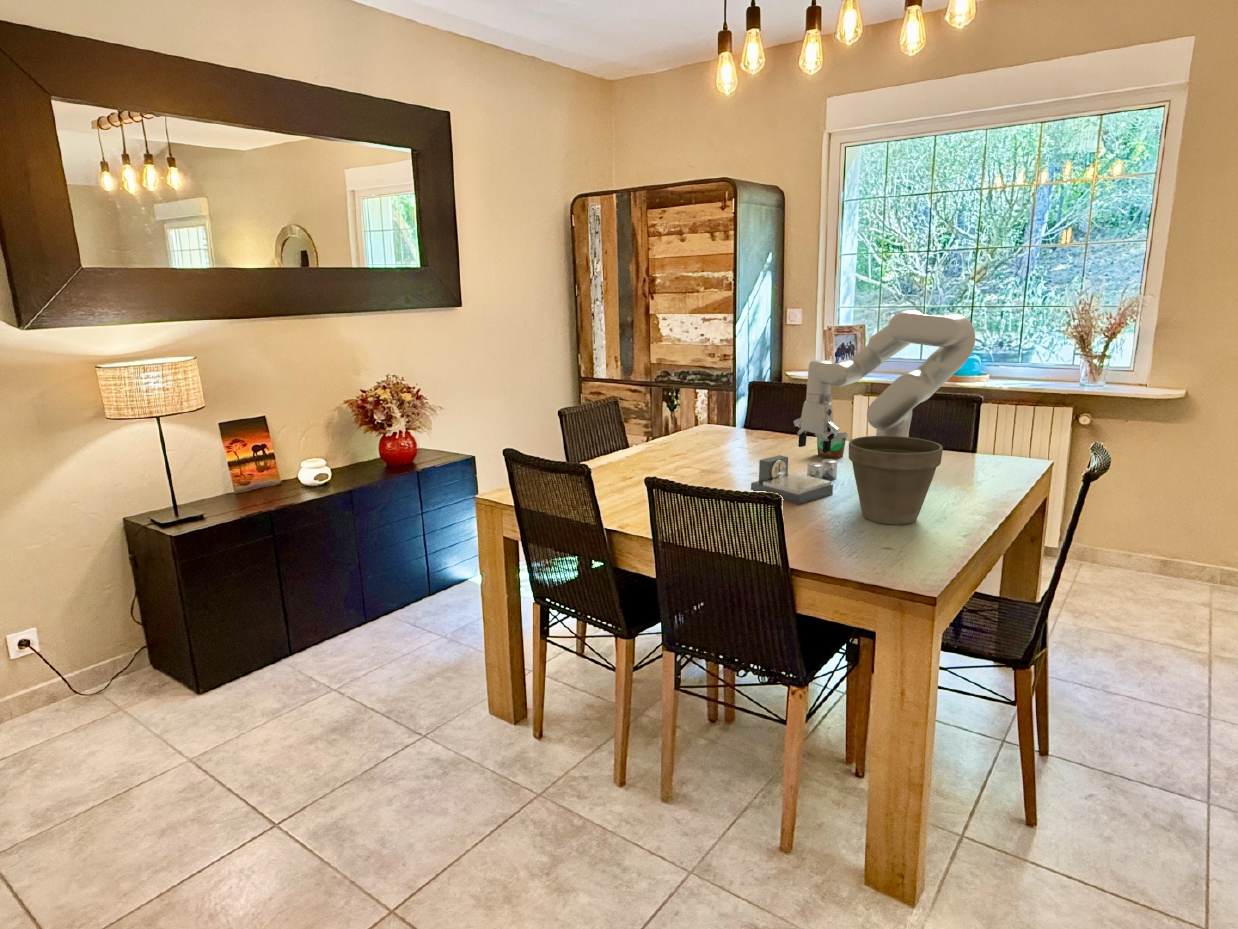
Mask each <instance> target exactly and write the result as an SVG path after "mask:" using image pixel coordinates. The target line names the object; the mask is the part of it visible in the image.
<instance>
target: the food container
mask: <svg viewBox="0 0 1238 929" xmlns="http://www.w3.org/2000/svg"><path fill="white" fill-rule="evenodd" d="M832 432H833V431H832ZM832 432H831V434H832ZM848 434H849V433H848V431H843V432H838V433H837V435H836V437H835V438H833V440H831V449H830V452H826V453H823V441H825V439H824V437H823V435H822V434H817V433H814V436H815V437H816V445H817V446H816V448H817V456H818V457H819V458H823V459H831V460H837V459H842V458H843V457H844V452H845V447H846V440H847V438H848V437H849V435H848Z"/></svg>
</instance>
